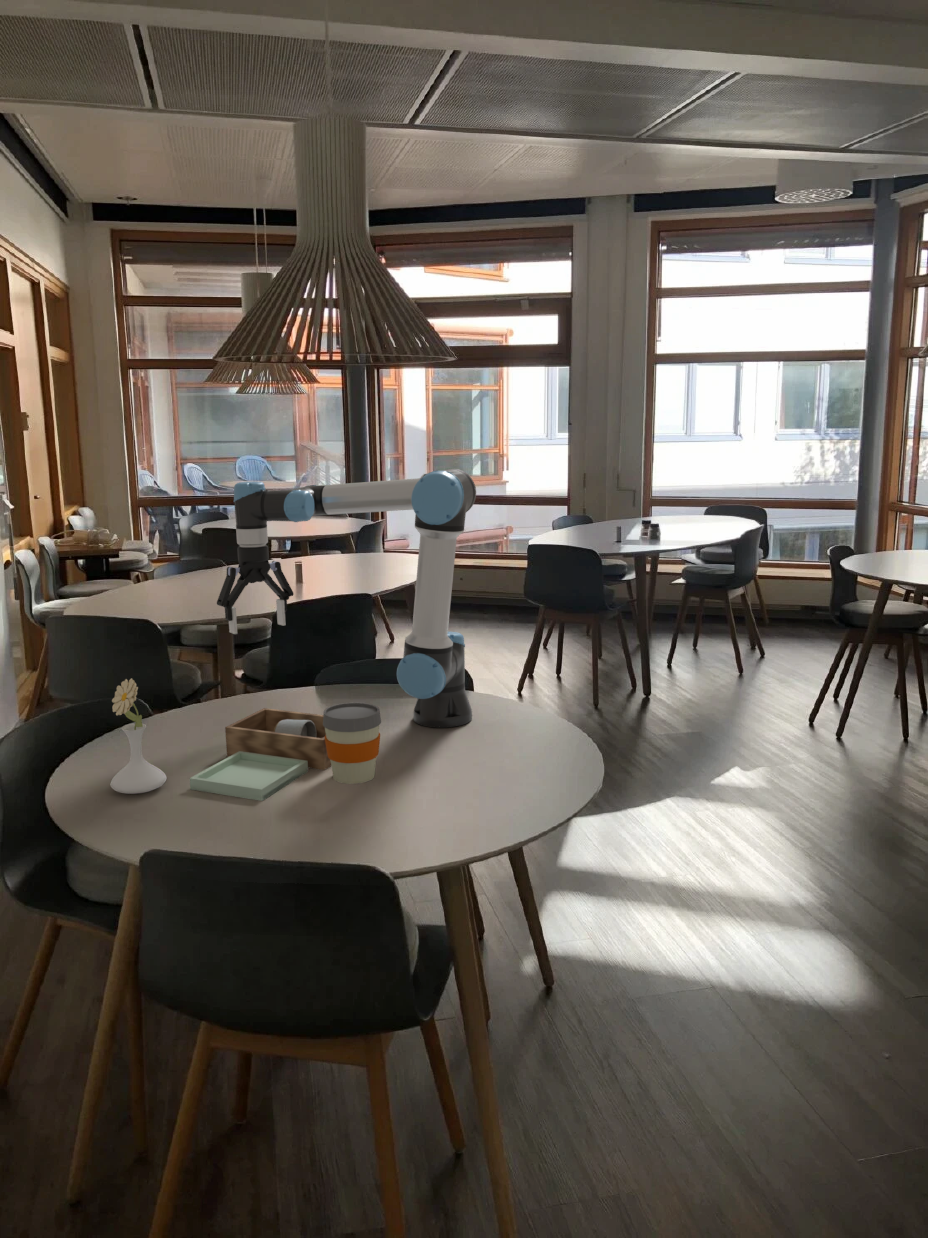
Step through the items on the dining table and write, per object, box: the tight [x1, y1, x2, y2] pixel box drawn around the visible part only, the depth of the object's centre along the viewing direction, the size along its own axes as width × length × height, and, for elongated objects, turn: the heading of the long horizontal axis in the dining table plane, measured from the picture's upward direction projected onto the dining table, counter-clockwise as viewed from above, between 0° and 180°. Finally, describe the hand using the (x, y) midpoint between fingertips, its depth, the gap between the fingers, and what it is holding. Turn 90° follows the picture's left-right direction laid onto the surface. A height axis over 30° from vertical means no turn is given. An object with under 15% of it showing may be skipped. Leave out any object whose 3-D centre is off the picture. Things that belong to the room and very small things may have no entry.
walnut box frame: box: [224, 707, 332, 771], centre depth 229 cm, size 26×16×7 cm, turn 68°
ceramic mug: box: [274, 719, 316, 737], centre depth 229 cm, size 11×8×8 cm
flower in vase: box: [110, 678, 168, 795], centre depth 205 cm, size 13×11×25 cm
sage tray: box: [189, 751, 309, 802], centre depth 212 cm, size 18×18×2 cm
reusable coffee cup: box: [322, 702, 382, 785], centre depth 213 cm, size 13×13×15 cm
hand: (257, 629), depth 246 cm, fingers open, 13 cm apart
